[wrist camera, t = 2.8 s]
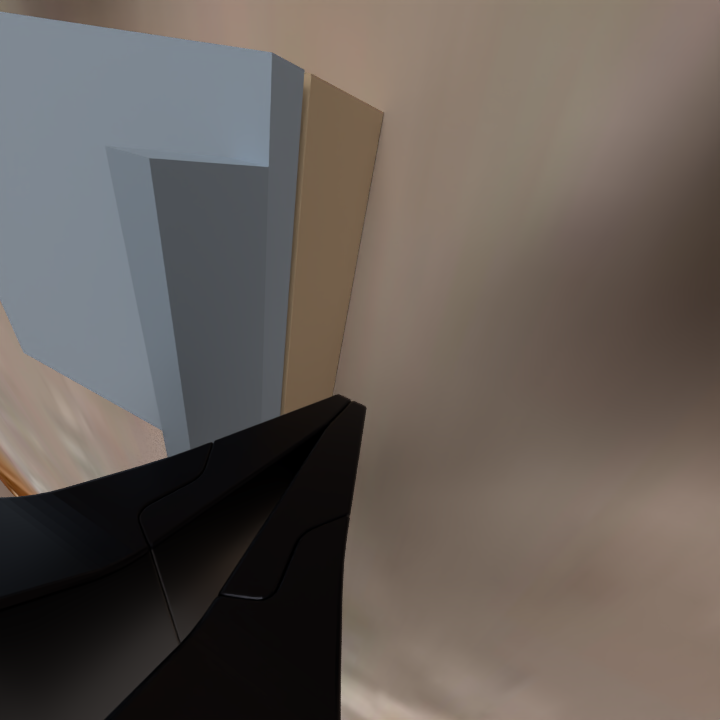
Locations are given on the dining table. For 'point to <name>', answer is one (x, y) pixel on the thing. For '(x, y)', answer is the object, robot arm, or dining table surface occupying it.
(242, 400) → the lid
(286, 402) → the tan shallow open box
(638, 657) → the dining table surface
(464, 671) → the dining table surface
